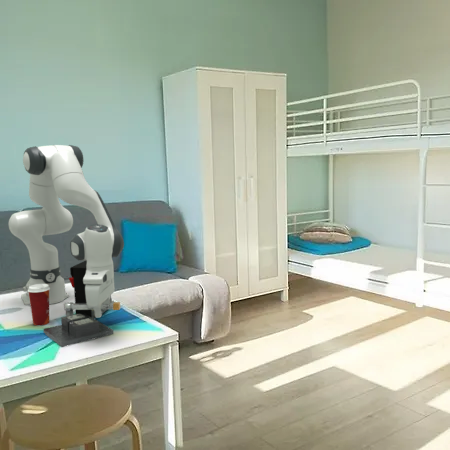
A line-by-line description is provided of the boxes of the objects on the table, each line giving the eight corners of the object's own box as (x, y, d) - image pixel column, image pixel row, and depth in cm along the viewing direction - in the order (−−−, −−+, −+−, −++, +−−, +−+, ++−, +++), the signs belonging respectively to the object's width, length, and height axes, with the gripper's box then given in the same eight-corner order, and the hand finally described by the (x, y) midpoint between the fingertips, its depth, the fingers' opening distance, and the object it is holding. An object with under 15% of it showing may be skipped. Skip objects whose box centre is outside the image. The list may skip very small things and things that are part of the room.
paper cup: (56, 322, 187) (53, 285, 185) (36, 328, 181) (33, 290, 179) (45, 318, 192) (43, 282, 190) (26, 323, 187) (23, 286, 185)
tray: (43, 333, 176) (42, 315, 175) (92, 321, 187) (91, 304, 186) (61, 346, 163) (60, 327, 162) (113, 333, 174) (112, 315, 173)
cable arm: (63, 310, 178) (62, 304, 177) (66, 308, 181) (66, 302, 181) (118, 310, 177) (118, 304, 177) (120, 307, 180) (120, 301, 180)
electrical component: (96, 320, 188) (93, 268, 185) (71, 319, 190) (68, 267, 187) (116, 306, 205) (113, 258, 202) (92, 305, 207) (89, 257, 204)
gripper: (100, 266, 181) (102, 304, 183) (81, 280, 161) (83, 322, 163) (117, 266, 181) (119, 303, 183) (100, 280, 161) (103, 322, 162)
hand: (102, 312), depth 173 cm, fingers open, 7 cm apart
